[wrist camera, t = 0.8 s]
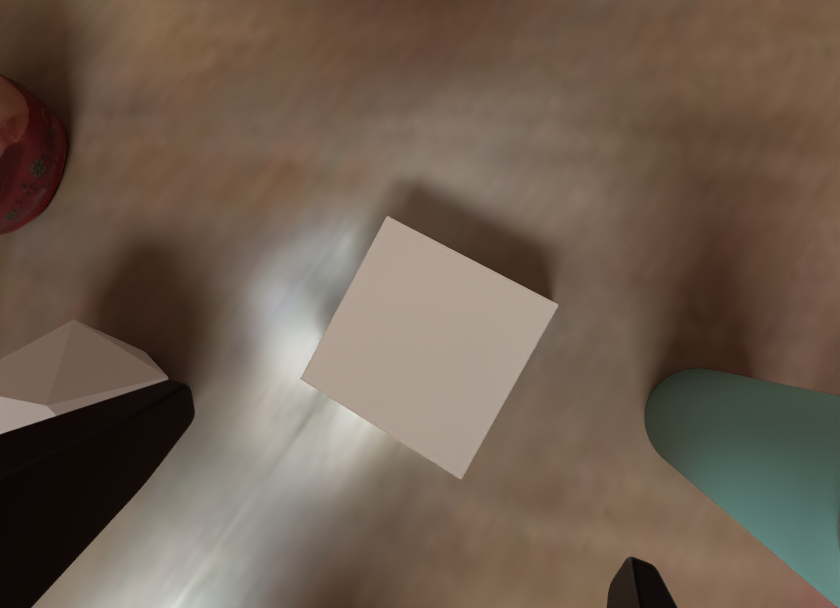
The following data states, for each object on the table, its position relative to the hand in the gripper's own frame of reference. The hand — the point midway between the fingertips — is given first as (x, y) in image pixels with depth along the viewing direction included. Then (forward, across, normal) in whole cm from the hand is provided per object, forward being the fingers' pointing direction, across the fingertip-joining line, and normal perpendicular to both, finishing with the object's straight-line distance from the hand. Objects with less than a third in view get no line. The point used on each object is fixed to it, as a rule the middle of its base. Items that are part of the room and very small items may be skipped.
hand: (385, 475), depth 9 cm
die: (+10, +18, +14) cm, 25 cm away
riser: (+14, +2, +6) cm, 16 cm away
